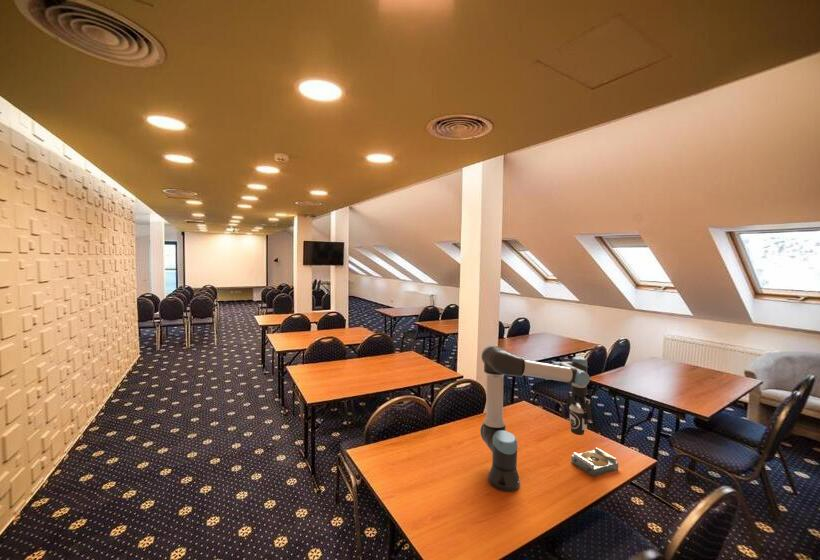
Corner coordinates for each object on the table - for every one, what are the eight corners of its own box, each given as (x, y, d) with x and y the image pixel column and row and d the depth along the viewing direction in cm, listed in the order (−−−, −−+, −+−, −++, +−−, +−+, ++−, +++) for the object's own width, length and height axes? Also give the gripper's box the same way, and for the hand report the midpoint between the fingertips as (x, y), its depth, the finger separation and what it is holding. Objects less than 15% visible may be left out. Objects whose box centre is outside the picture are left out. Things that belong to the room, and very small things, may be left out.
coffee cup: (585, 438, 184) (587, 411, 183) (566, 432, 189) (567, 406, 188) (588, 431, 191) (589, 405, 190) (569, 426, 197) (571, 400, 196)
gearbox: (592, 477, 176) (592, 466, 176) (570, 462, 189) (570, 452, 189) (618, 470, 182) (618, 459, 182) (595, 456, 195) (595, 446, 195)
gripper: (600, 391, 181) (599, 433, 182) (569, 379, 200) (568, 417, 201) (590, 392, 178) (589, 435, 179) (559, 380, 197) (558, 419, 198)
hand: (578, 426), depth 190 cm, fingers closed on coffee cup, 8 cm apart
